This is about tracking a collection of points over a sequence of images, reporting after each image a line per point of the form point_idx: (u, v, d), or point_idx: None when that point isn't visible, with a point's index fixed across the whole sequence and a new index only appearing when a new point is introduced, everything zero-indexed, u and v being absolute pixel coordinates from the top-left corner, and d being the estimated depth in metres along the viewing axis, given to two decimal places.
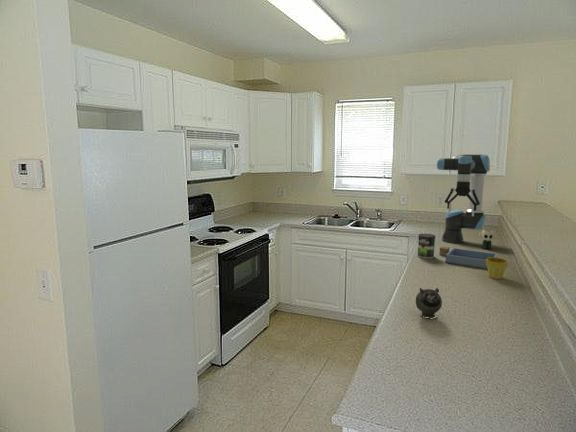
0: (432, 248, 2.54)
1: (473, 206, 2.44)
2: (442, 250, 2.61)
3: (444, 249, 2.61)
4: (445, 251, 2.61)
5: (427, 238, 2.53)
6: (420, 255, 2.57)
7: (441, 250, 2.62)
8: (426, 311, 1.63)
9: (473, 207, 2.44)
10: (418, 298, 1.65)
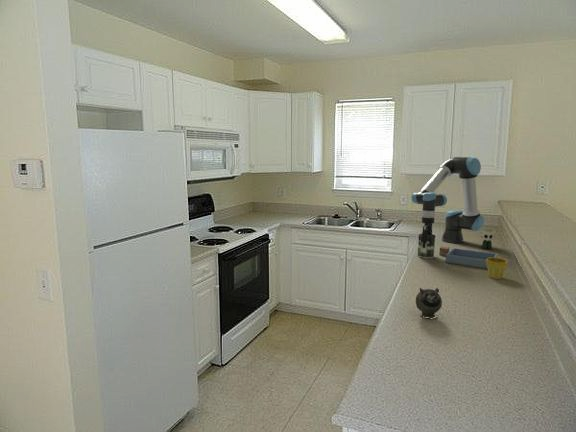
0: (432, 248, 2.54)
1: (422, 242, 2.54)
2: (442, 250, 2.61)
3: (444, 249, 2.61)
4: (445, 251, 2.61)
5: (427, 238, 2.53)
6: (420, 255, 2.57)
7: (441, 250, 2.62)
8: (426, 311, 1.63)
9: (422, 243, 2.54)
10: (418, 298, 1.65)
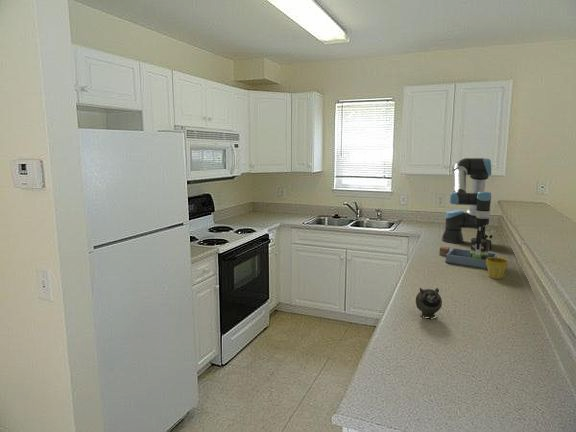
0: (486, 253, 2.39)
1: None
2: (442, 250, 2.61)
3: (444, 249, 2.61)
4: (445, 251, 2.61)
5: (481, 243, 2.37)
6: None
7: (441, 250, 2.62)
8: (426, 311, 1.63)
9: None
10: (418, 298, 1.65)
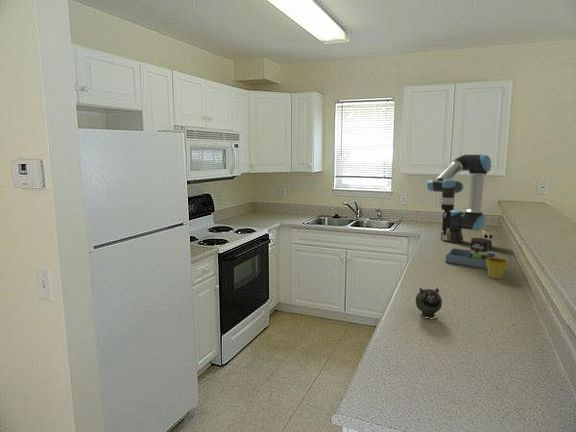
0: (486, 253, 2.39)
1: None
2: None
3: None
4: None
5: (481, 243, 2.37)
6: None
7: (442, 234, 2.60)
8: (426, 311, 1.63)
9: None
10: (418, 298, 1.65)
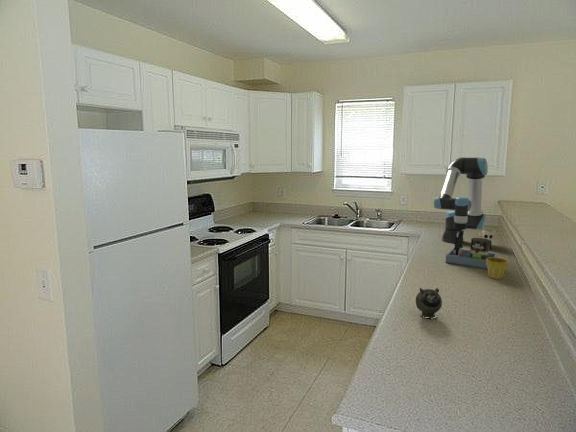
0: (486, 253, 2.39)
1: (455, 250, 2.48)
2: None
3: None
4: (459, 255, 2.48)
5: (482, 243, 2.37)
6: None
7: (454, 254, 2.49)
8: (426, 311, 1.63)
9: None
10: (418, 298, 1.65)
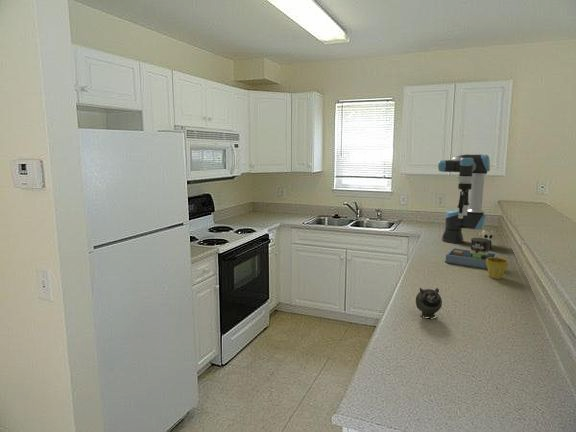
0: (486, 253, 2.39)
1: None
2: (455, 254, 2.48)
3: (457, 253, 2.48)
4: (459, 255, 2.48)
5: (482, 243, 2.37)
6: None
7: (454, 254, 2.49)
8: (426, 311, 1.63)
9: None
10: (418, 298, 1.65)
